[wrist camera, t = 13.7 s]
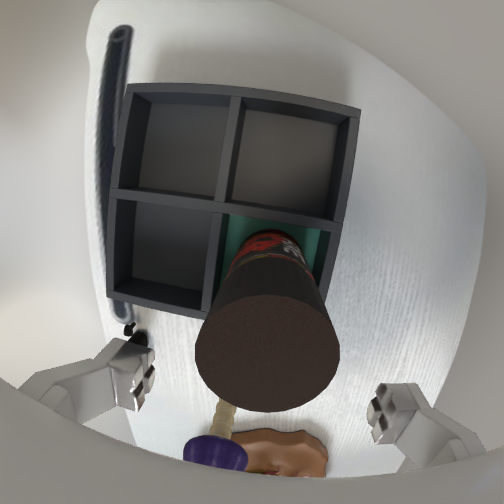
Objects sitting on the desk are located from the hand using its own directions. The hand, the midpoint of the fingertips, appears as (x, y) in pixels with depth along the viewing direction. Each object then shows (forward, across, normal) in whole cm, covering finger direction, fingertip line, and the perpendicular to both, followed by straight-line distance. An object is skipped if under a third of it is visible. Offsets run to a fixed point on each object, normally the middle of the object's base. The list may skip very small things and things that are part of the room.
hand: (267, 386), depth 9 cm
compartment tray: (+18, +5, -4) cm, 19 cm away
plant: (+18, -4, +32) cm, 37 cm away
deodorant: (+17, 0, 0) cm, 17 cm away
